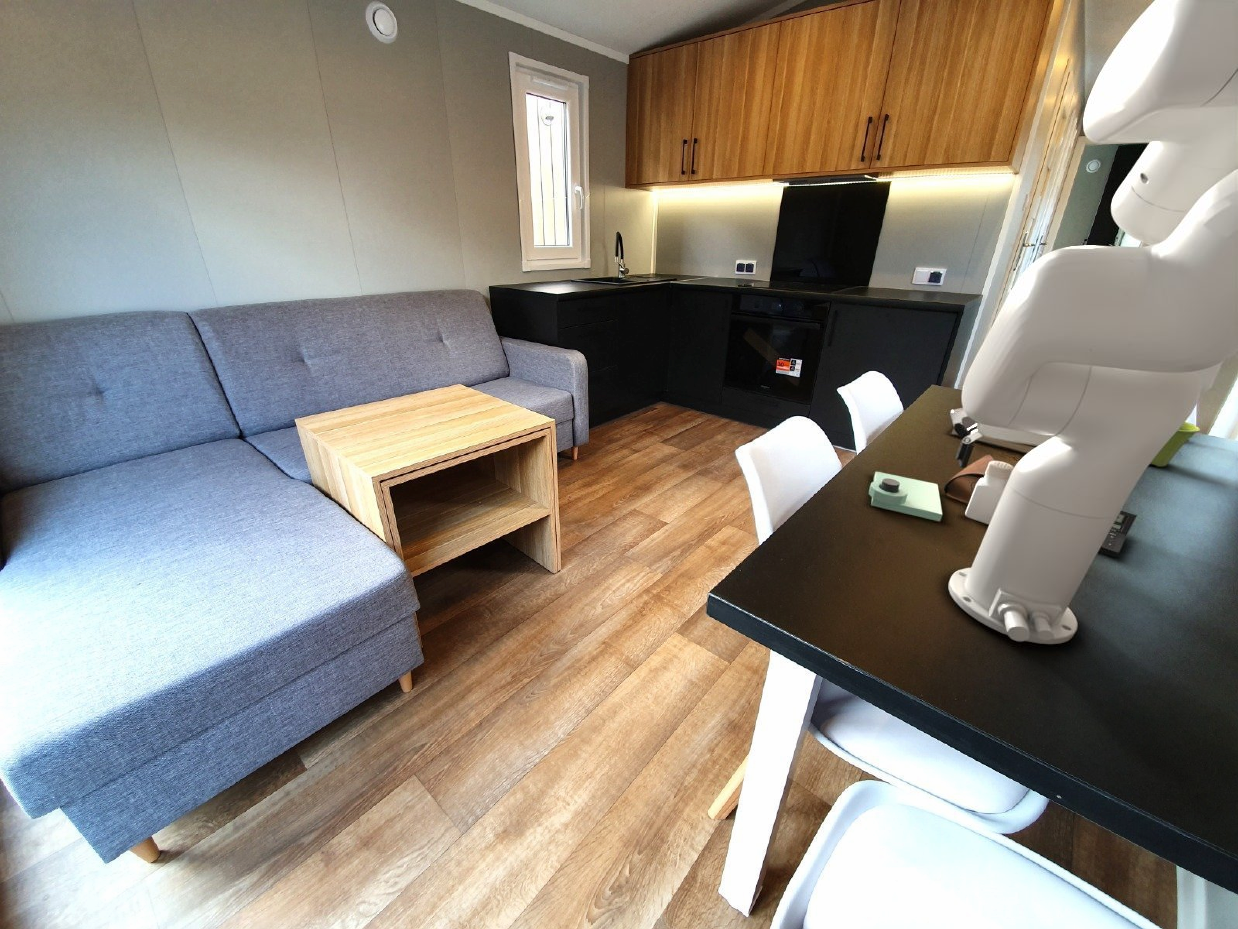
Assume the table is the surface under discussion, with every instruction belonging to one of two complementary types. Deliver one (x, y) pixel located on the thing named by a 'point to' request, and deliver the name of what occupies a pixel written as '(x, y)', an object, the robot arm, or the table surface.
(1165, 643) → the table surface
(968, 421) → the hardcover book
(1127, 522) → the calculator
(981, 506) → the pepper shaker
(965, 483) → the sunglasses case
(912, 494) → the scale
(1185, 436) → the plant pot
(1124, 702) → the table surface
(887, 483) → the tare button
